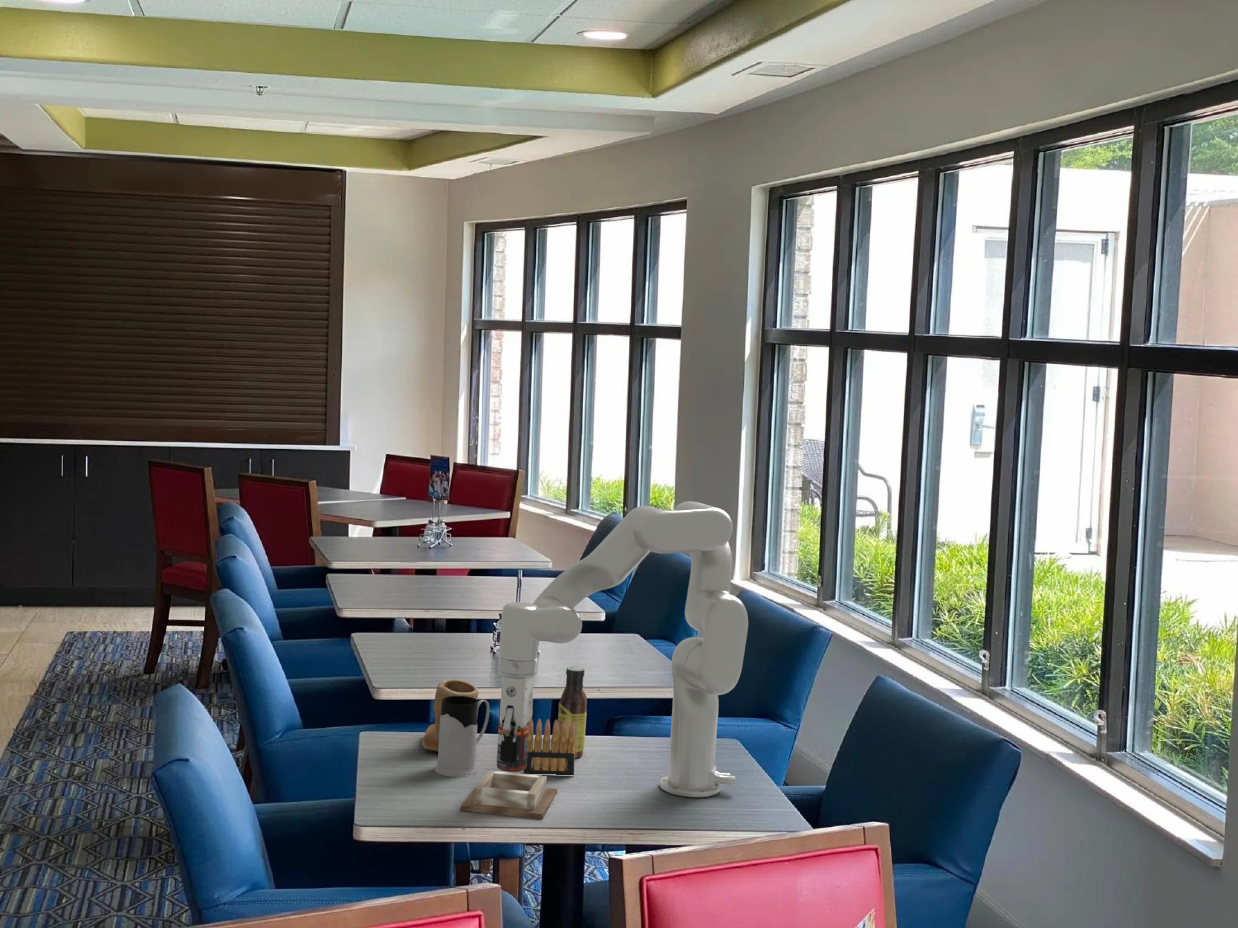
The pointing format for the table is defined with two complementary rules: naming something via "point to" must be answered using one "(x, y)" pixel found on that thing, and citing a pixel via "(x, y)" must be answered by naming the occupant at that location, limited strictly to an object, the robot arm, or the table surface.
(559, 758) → the ammunition clip
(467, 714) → the black and white mug
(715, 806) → the table surface
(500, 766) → the supplement bottle
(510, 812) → the board
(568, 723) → the sauce bottle
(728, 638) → the robot arm
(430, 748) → the tan boot
